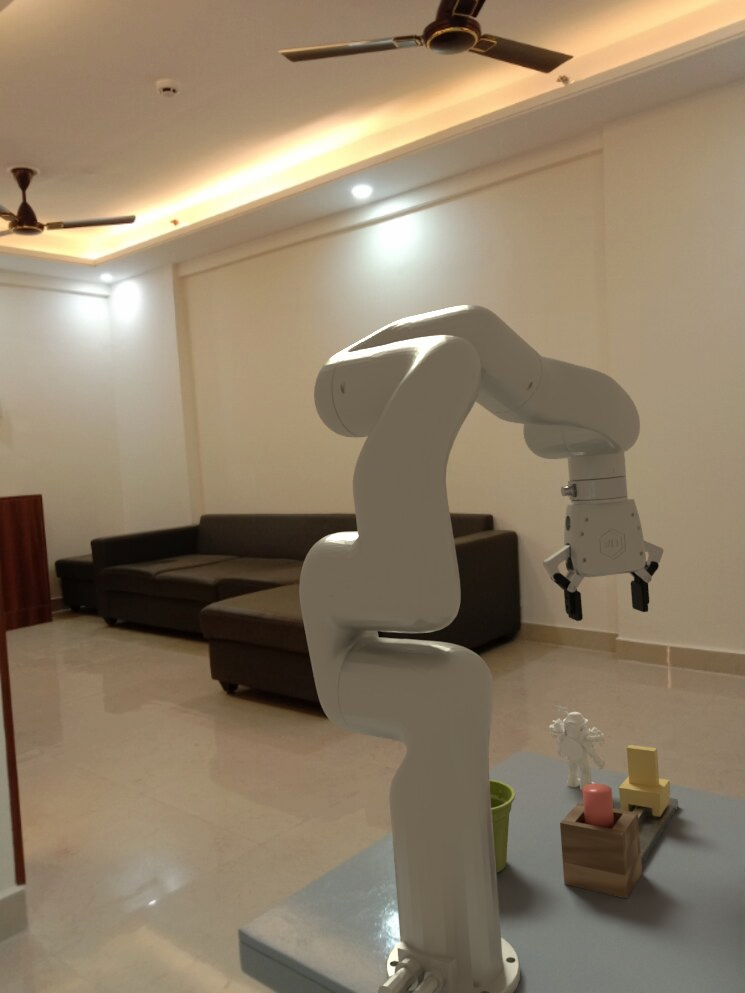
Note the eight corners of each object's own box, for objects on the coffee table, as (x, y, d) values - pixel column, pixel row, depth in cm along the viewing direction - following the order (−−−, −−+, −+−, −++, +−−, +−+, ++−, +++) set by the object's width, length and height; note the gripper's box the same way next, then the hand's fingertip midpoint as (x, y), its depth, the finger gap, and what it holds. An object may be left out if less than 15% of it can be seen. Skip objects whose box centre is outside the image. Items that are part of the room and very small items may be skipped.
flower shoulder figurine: (548, 782, 118) (542, 703, 118) (564, 774, 121) (558, 697, 120) (599, 798, 111) (593, 714, 111) (615, 790, 114) (609, 707, 113)
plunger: (609, 841, 88) (606, 796, 88) (581, 835, 89) (578, 792, 89) (618, 829, 90) (615, 786, 90) (590, 824, 92) (588, 781, 92)
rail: (638, 870, 91) (636, 836, 91) (587, 859, 95) (585, 826, 94) (678, 806, 107) (676, 777, 107) (633, 799, 110) (631, 770, 110)
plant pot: (496, 892, 89) (490, 816, 89) (426, 872, 95) (421, 800, 94) (533, 857, 96) (528, 786, 96) (466, 840, 102) (461, 773, 102)
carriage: (661, 817, 101) (657, 756, 101) (620, 810, 104) (616, 751, 104) (670, 802, 105) (666, 744, 105) (631, 795, 108) (627, 739, 108)
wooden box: (626, 898, 86) (622, 834, 85) (564, 883, 89) (559, 822, 89) (641, 873, 90) (637, 812, 90) (582, 860, 94) (578, 802, 94)
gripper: (550, 498, 103) (560, 627, 104) (671, 485, 106) (680, 611, 107) (528, 496, 111) (538, 617, 111) (642, 485, 114) (651, 602, 114)
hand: (608, 614), depth 109 cm, fingers open, 9 cm apart
